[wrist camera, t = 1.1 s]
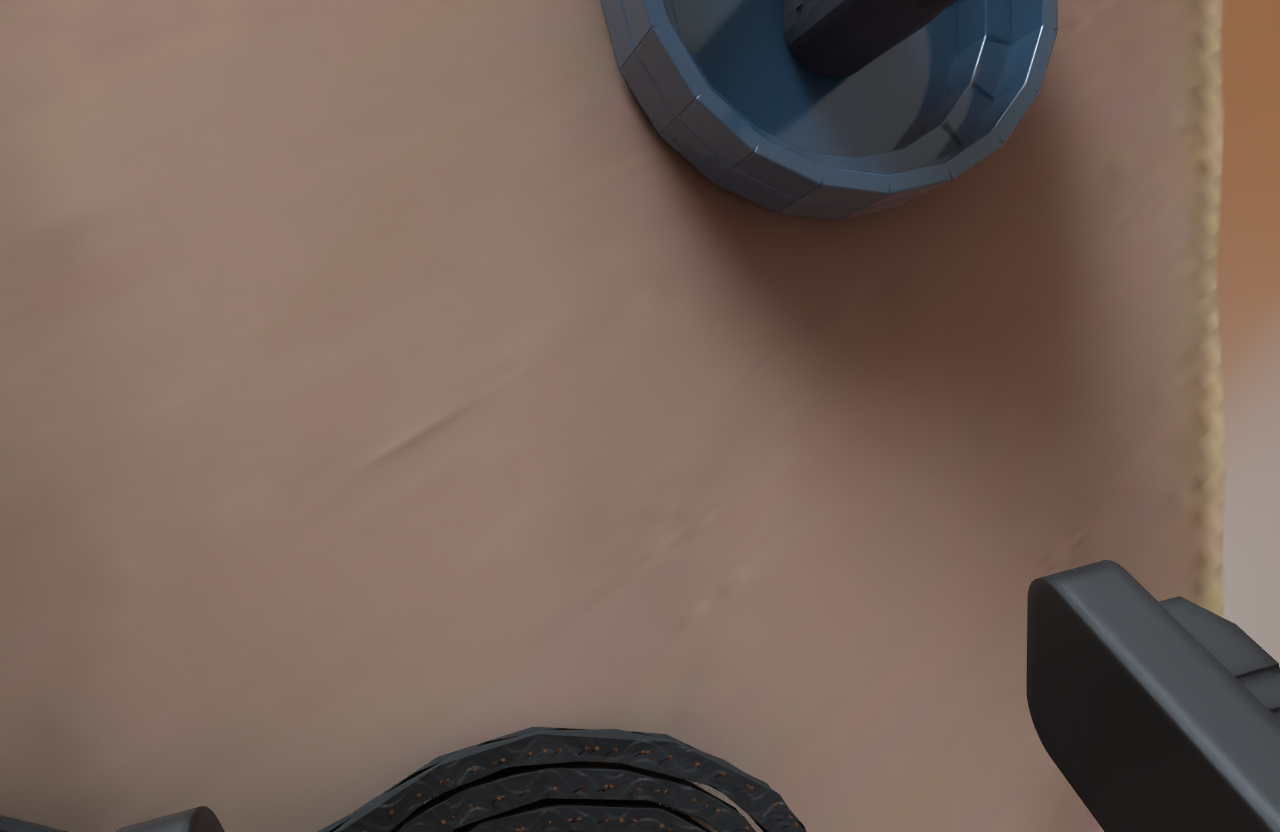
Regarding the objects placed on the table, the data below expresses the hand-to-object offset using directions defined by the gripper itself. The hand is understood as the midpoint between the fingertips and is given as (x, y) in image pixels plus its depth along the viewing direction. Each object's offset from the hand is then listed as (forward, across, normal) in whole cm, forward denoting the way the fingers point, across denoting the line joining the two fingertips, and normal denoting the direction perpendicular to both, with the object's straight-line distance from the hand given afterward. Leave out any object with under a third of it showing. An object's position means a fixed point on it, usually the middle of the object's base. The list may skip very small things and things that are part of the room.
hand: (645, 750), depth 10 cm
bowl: (+28, -12, -1) cm, 30 cm away
